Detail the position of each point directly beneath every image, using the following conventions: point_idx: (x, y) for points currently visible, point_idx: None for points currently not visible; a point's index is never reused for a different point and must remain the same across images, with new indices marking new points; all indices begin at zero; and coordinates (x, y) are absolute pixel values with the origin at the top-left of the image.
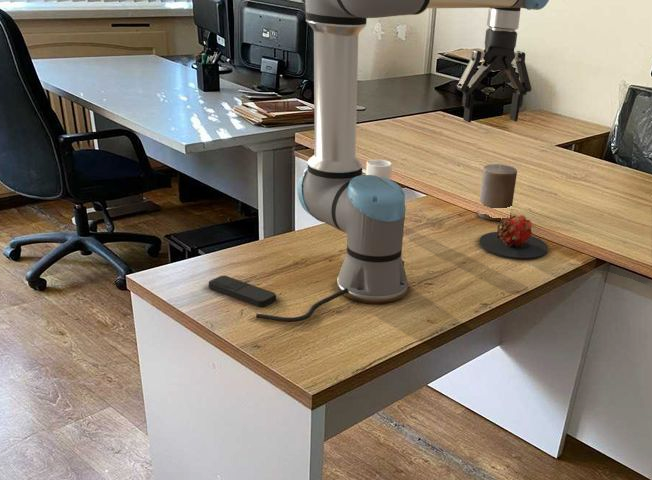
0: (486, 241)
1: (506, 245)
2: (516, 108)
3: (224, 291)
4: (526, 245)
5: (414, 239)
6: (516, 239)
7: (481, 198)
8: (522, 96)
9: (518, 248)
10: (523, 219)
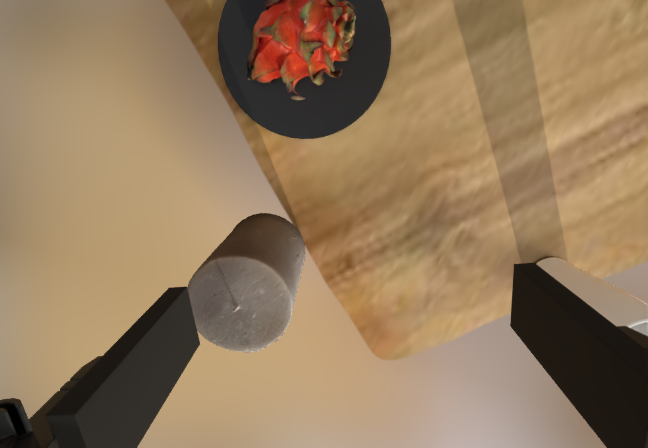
0: (366, 77)
1: None
2: (147, 335)
3: None
4: None
5: (528, 131)
6: None
7: (301, 267)
8: (34, 422)
9: None
10: (283, 17)
